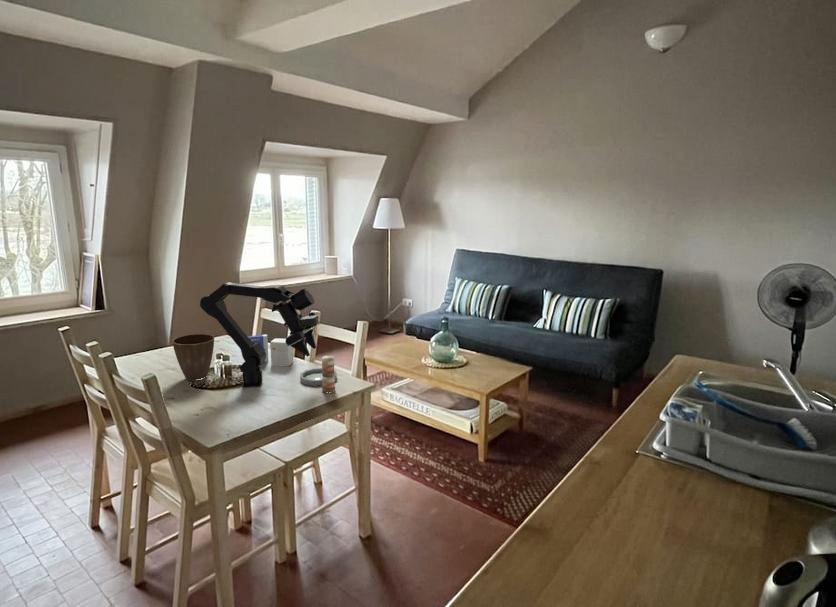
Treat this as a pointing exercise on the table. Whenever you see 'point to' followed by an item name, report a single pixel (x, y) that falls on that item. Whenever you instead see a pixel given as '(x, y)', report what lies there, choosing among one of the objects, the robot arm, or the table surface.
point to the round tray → (313, 377)
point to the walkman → (263, 341)
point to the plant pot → (194, 354)
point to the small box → (281, 353)
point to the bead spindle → (328, 374)
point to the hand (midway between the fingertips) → (312, 352)
